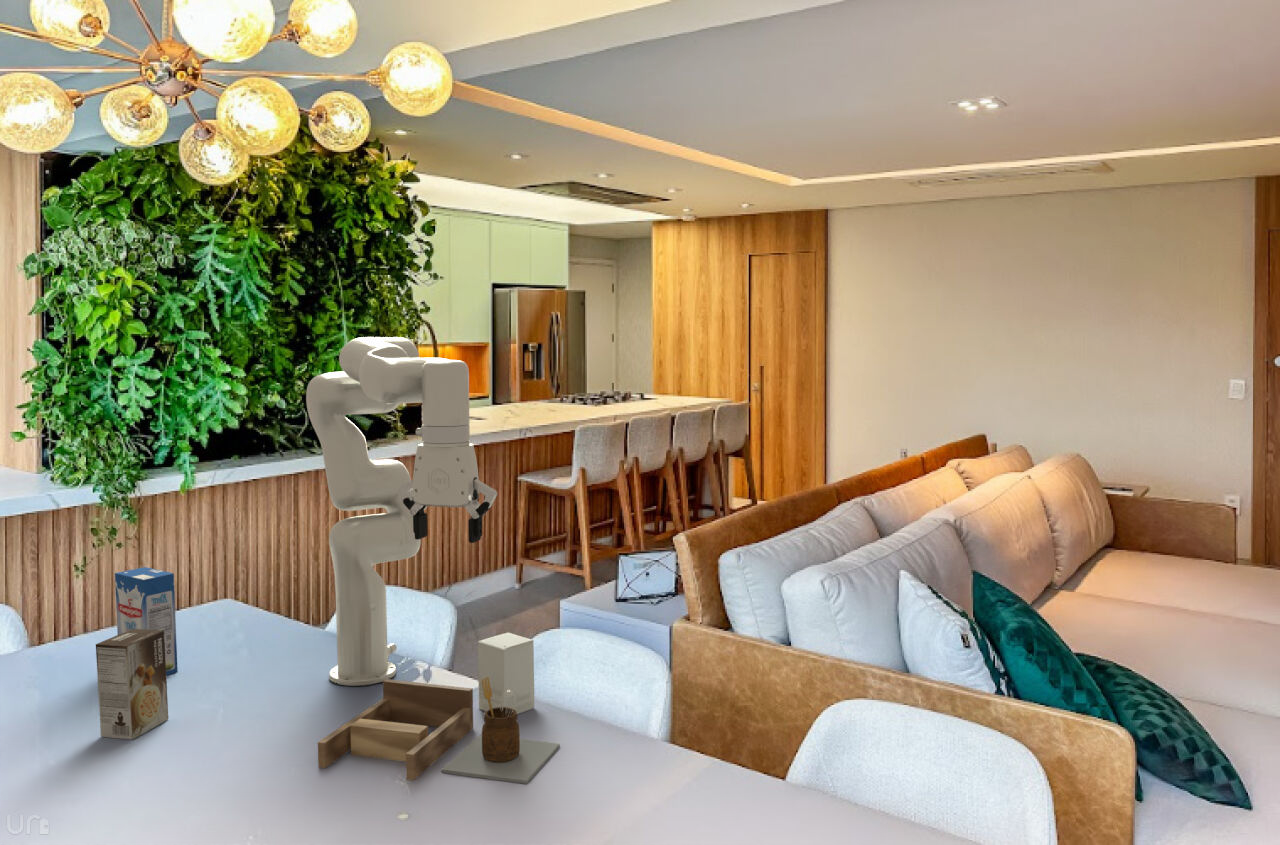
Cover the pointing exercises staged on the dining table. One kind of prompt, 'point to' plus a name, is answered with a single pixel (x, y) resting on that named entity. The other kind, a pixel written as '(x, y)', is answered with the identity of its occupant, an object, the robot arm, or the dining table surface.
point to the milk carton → (148, 606)
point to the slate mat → (512, 771)
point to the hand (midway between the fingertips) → (447, 539)
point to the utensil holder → (499, 730)
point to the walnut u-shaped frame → (412, 721)
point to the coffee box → (132, 683)
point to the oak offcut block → (385, 739)
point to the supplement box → (507, 671)
